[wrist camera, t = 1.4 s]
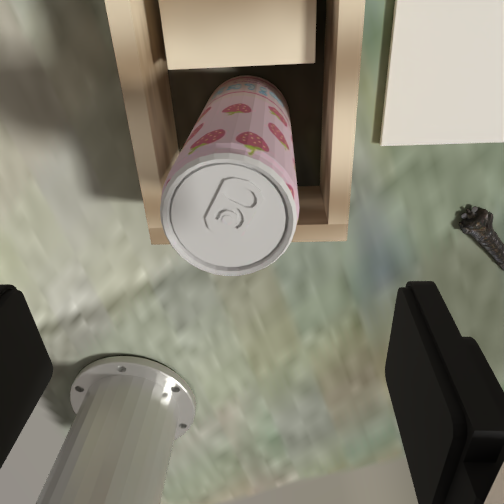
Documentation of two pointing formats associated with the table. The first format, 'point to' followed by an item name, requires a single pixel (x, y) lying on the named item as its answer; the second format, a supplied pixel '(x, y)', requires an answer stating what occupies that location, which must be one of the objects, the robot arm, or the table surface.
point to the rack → (163, 124)
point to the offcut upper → (238, 32)
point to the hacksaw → (483, 232)
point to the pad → (445, 73)
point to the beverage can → (234, 182)
